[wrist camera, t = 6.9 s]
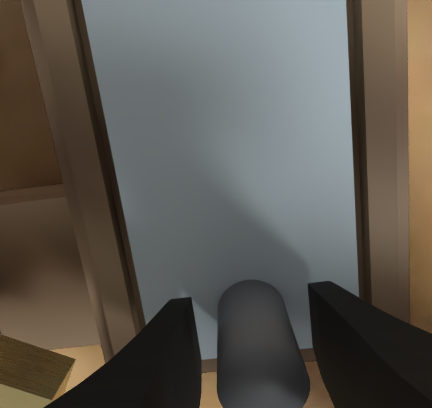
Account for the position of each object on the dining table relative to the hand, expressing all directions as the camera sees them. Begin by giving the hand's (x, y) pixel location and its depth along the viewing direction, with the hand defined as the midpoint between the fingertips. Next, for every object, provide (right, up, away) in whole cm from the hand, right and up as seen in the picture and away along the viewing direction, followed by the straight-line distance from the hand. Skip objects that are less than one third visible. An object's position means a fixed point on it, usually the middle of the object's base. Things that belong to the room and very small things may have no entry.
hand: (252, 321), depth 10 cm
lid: (-1, +5, 0) cm, 5 cm away
